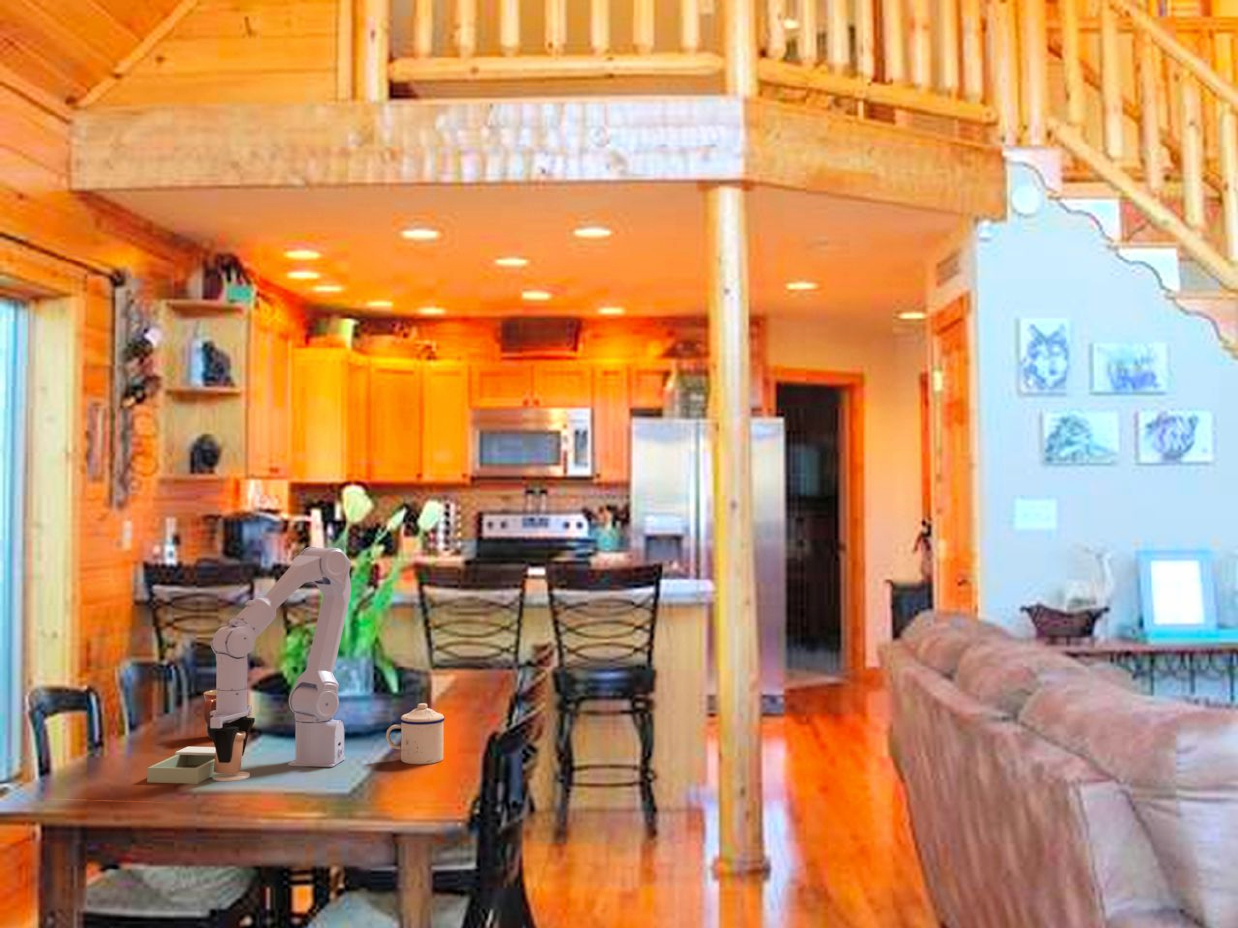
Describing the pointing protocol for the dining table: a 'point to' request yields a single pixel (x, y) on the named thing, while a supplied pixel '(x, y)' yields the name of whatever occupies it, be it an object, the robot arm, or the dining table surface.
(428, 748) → the teacup with lid
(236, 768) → the pot
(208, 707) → the mug
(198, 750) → the box with sliding lid
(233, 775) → the saucer
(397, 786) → the dining table surface
